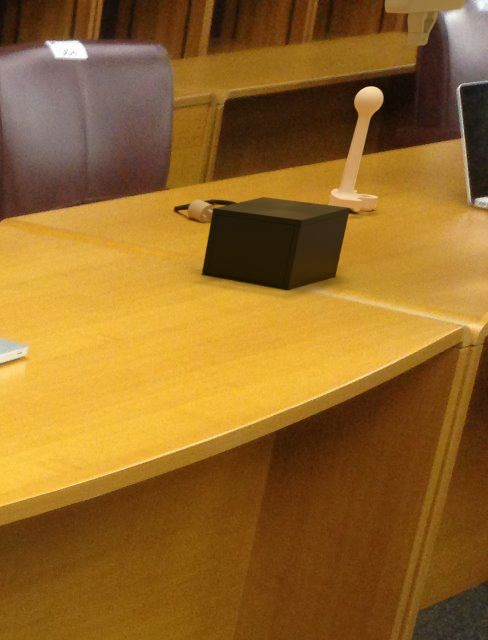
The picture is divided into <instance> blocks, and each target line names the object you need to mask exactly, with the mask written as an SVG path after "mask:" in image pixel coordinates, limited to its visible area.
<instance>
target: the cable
mask: <svg viewBox="0 0 488 640" xmlns="http://www.w3.org/2000/svg"><path fill="white" fill-rule="evenodd" d="M235 203H237V202H236V201H233V200H226V199H213V198H212V199H208V200H202V199H198V198H197V199H195V200H193V201H191V203H186V204H180V205H175V206H174V208H173V210H174V211H176V212H177V211H187V216H188V217H189V218H191V219H193V220H195V221H197V222H200V223H211V219H212V212H213V208H216V207H215V206H214V205H223V206H226V205H231V204H235Z"/></svg>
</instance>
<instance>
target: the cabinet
mask: <svg viewBox="0 0 488 640" xmlns="http://www.w3.org/2000/svg"><path fill="white" fill-rule="evenodd" d="M350 211H351V210H350V208H347V207H339V206H331V205H328V204H322V203H315V202H306V201H299V200H290V199H284V198H283V199H282V198H274V197H266V196H262V197H258V198H253V199H249V200H245V201H239V202H236V203H235V204H231V205H222V206H218V207H215V208H213V212H212V219H211V221H210V225H209V230H208V235H207V242H206V247H205V253H204V260H203V265H202V271H201V276H204V277H205V276H206V277H210V278H211V277H212V278H217V279H222V280H227V281H233V282H237V283H238V282H240V283H244V284H248V285H249V284H251V285H255V286H259V287H265V288H272V289H276V290H281V291H291V290H295V289H298V288H302V287H305V286H308V285H309V286H310V285H312V284H316V283H319V282H322V281H326V280H330V279H333V278H336V276H337V271H338V267H339V262H340V257H341V253H342V248H343V243H344V238H345V235H346V229H347V225H348V220H349V215H350Z"/></svg>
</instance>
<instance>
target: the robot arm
mask: <svg viewBox="0 0 488 640" xmlns="http://www.w3.org/2000/svg"><path fill="white" fill-rule="evenodd" d="M466 1H467V0H384V10H385V12H386V13H388V14H408V15H407V20H406V21H407V30H408V33H407V34H408V35H407V38H406V45H407V46H409V47H419V46H425V45H427V44H428V41H429V38H430V32H431V31H432V29H433V28H434V25H435V24H436V22H437V19H438V15H439V11H453V10H461V9H462V8H463V6H464V5H465V3H466Z"/></svg>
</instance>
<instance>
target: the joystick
mask: <svg viewBox="0 0 488 640" xmlns="http://www.w3.org/2000/svg"><path fill="white" fill-rule="evenodd" d="M383 103H384V94H383V91H382V90H381V89H380V88H379V87H376V86H366V87H364V88H362V89H360V90H359V91H358V92H357V94H356V95H355V97H354V102H353V105H354V108H355V110H356V112H357V121H356V125H355V129H354V132H353V135H352V139H351V142H350V147H349V151H348V153H347V158H346V161H345V164H344V169H343V171H342V176H341V179H340V183H339V187H338V188H334V189H332V190H331V192H330V195H329V200H328V204H327V205H331V206H339V207H347V208H350V211H352V212H371V211H373V209H376V207H377V204H378V200H379V196H377V195H374V194H368V193H358V190H357V189H355V187H356V184H357V183H356V182H357V178H358V173H359V169H360V165H361V162H362V156H363V153H364V147H365V143H366V139H367V136H368V135H367V134H368V130H369V126H370V121H371V119H372V117H373V115H374V114H376V112H377V111H378V110H380V109H381V107H382V106H383Z"/></svg>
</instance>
